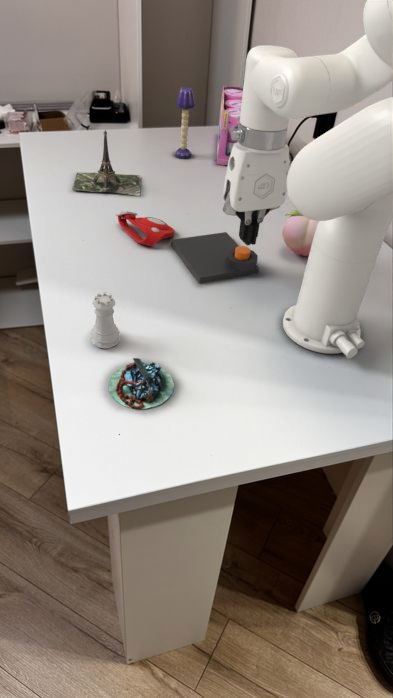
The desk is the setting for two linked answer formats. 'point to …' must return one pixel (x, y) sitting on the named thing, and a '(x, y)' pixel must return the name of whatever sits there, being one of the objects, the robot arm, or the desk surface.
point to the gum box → (228, 122)
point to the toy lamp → (184, 119)
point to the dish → (141, 385)
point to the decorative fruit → (299, 233)
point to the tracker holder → (145, 228)
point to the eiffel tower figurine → (107, 178)
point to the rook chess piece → (104, 322)
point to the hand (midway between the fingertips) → (247, 241)
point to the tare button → (242, 253)
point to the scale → (213, 257)
